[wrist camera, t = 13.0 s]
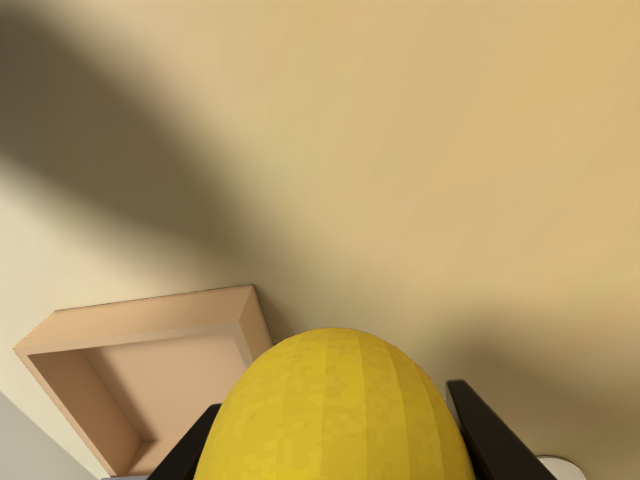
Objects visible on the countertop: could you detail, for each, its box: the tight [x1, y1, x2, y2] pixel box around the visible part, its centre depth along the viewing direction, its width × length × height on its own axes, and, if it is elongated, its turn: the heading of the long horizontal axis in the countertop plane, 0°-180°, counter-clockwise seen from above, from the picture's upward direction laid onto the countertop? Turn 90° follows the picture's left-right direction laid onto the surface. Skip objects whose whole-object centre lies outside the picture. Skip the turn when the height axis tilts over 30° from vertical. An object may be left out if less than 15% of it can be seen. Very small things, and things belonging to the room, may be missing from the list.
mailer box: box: [12, 284, 274, 478], centre depth 24 cm, size 14×14×4 cm
